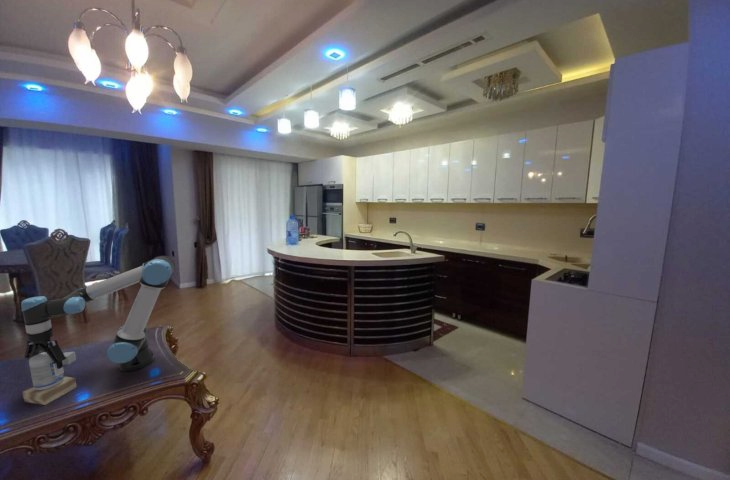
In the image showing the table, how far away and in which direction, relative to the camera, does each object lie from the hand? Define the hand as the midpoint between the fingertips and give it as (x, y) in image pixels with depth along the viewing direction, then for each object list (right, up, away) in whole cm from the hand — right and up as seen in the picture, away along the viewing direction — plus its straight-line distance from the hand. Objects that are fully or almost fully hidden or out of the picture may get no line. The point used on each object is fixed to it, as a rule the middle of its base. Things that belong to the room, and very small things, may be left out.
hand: (48, 373), depth 130 cm
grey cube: (-20, -7, +27) cm, 34 cm away
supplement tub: (0, -6, +1) cm, 6 cm away
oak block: (0, -11, +1) cm, 11 cm away
